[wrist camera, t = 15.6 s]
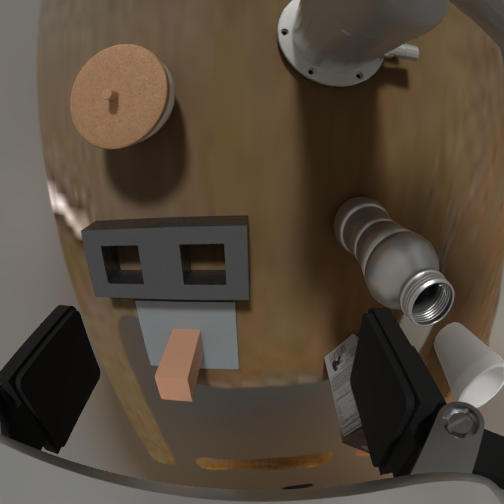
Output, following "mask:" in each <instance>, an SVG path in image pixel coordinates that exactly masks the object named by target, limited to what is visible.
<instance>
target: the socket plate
mask: <svg viewBox="0 0 504 504" xmlns="http://www.w3.org/2000/svg"><path fill="white" fill-rule="evenodd" d="M81 234H82V239H83V244H84V249H85V254H86V259H87V263H88V268H89V272H90V276H91V280H92V284H93V288H94V292H95V296H96V297H113V298H139V299H177V300H249V291H250V268H249V231H248V216H203V217H172V218H147V219H126V220H107V221H95V222H94V223H92V224H90V225H89V226H87V227H86V228H84V229H83V230H82V231H81ZM188 244H224V250H225V267H226V270H191V269H190V260H189V250H188ZM124 245H138V250H139V257H140V263H141V269H142V270H120V266H119V261H118V256H117V250H116V246H124Z"/></svg>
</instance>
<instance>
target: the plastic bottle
mask: <svg viewBox="0 0 504 504" xmlns="http://www.w3.org/2000/svg"><path fill="white" fill-rule="evenodd" d="M334 231H335V236H336V238H337V241H338V242H339V243H340V245H341V246H342V247H343V248H345V249H346V250H347V251H348V252H350V253H351V254H352V255H353V256H354V257H355V258H356V259H357V261H358V263H359V265H360V267H361V269H362V272H363V275H364V278H365V282H366V285H367V288H368V290H369V292H370V294H371V295H372V297H373V298H374V299H375V300H376V301H377V302H379V303H380V304H382V305H384V306H386V307H387V308H391V309H401V310H402V311H403V312H404V313H405V314H406V315H407V316H408V317H409V318H410V320H411V321H412V322H413V323H414V324H416V325H417V326H420V327H427V326H431V325H434V324H436V323H437V322H439V321H440V320H442V319H443V318H444V317H445V316H446V315H447V313H448V312H449V311H450V309H451V307H452V305H453V302H454V295H455V294H454V289H453V287H452V285H451V284H450V283H449V282H448V281H447V280H446V279H445V277H444V276H443V274H442V273H440V272H439V260H438V256H437V254H436V251H435V249H434V247H433V245H432V244H431V243H430V241H429V240H427V239H426V238H425V237H423V236H421V235H420V234H418V233H415V232H413V231H411V230H408V229H406V228H404V227H402V226H401V225H399V224H398V223H396V222H394V221H393V219H392V218H391V217H390V216H389V214H388V212H387V211H386V209H385V208H384V207H383V206H382V205H381V204H380V203H379V202H378V201H376V200H374V199H372V198H367V197H355V198H352V199H350V200H348V201H346V202H345V203H344V204H343V205H342V206H341V207H340V208H339V209H338V211H337V213H336V215H335V219H334Z"/></svg>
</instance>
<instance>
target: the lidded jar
mask: <svg viewBox="0 0 504 504" xmlns="http://www.w3.org/2000/svg"><path fill="white" fill-rule="evenodd" d="M174 102H175V85H174V81H173V78H172V75H171V73H170V72H169V70H168V68H167V67H166V66H165V64H164V63H163V62H162V61H161V60H159V58H158V57H157V56H156V55H154V54H153V53H152V52H151V51H149V50H147V49H145V48H144V47H141V46H138V45H132V44H120V45H115V46H112V47H109V48H106V49H104V50H102V51H101V52H99V53H97V54H96V55H95V56H93V57H92V58H91V59H90V60H89V61H88V62H87V63H86V64H85V65H84V67H83V68H82V69H81V71H80V72H79V74H78V76H77V78H76V80H75V82H74V85H73V88H72V92H71V98H70V110H71V116H72V120H73V123H74V125H75V127H76V129H77V131H78V132H79V134H80V135H81V136H82V137H83V138H84V139H85V140H86V141H88V142H89V143H90V144H92V145H94V146H96V147H99V148H103V149H111V150H112V149H121V148H125V147H129V146H131V145H134V144H137V143H139V142H142V141H144V140H146V139H148V138H149V137H151V136H153V135H154V134H155V133H156V132H157V131H159V130H160V128H161V127H162V126H163V125H164V124H165V123H166V121H167V120H168V118H169V116H170V114H171V112H172V110H173V107H174Z"/></svg>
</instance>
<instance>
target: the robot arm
mask: <svg viewBox="0 0 504 504" xmlns="http://www.w3.org/2000/svg"><path fill="white" fill-rule="evenodd" d="M449 2H451V3H452V4H454V5H455V6H456V7H457V8H458V9H459V10H460V11H462V12H463V13H464V14H465V15H467V16H469V17H470V18H471V19H472V20H473V21H474V22H475V23H476V24H477V25H479V26H480V27H481V28H482V29H483V30H484V31H485V32H486V33H487V34H488V35H489V36H490V38H491V39H492V40H493V41H494V42H495V43H496V44H497V45H498V46H499V47H500V48H501V49H502V50H503V51H504V0H292V1H291V2H290V3H289V4H288V5H287V6H286V7H285V9H284V10H283V11H282V13H281V16H280V18H279V21H278V26H277V38H278V43H279V46H280V49H281V51H282V53H283V55H284V57H285V58H286V60H287V61H288V63H289V64H290V65H291V66H292V67H293V68H294V69H295V70H296V71H297V72H299V73H300V74H301V75H303V76H304V77H306V78H308V79H310V80H312V81H313V82H316V83H319V84H322V85H326V86H332V87H347V86H352V85H356V84H358V83H361V82H363V81H365V80H367V79H369V78H370V77H371V76H372V75H373V74H375V73H376V72H377V70H378V69H379V68H380V66H381V64H382V62H383V60H384V58H392V57H393V56H397V57H401V58H402V59H407V60H412V61H417V59H418V57H419V50H418V47H417V46H413V45H409V44H406V43H408V42H410V41H412V40H414V39H416V38H418V37H420V36H422V35H424V34H426V33H428V32H429V31H431V30H432V29H434V28H435V27H436V26H437V25H438V24H439V23H440V22H441V20H442V19H443V17H444V15H445V13H446V11H447V9H448V6H449ZM283 32H285V33H286V35H283V34H282V33H283ZM308 71H312V74H309V73H308ZM356 75H359V78H357V77H356ZM99 378H100V369H99V366H98V364H97V361H96V358H95V356H94V353H93V350H92V348H91V345H90V342H89V339H88V336H87V334H86V330H85V327H84V324H83V321H82V318H81V315H80V313H79V312H78V311H76V309H75V307H73V306H64V305H59V306H57V307H56V308H55V309H54V310H53V312H52V313H51V314H50V315H49V316H48V317H47V318H46V319H45V320H44V321H43V322H42V323H41V325H40V326H39V327H38V328H37V329H36V330H35V331H34V332H33V334H32V335H31V336H30V337H29V338H28V339H27V340H26V342H25V343H24V344H23V345H22V346H21V347H20V348H19V350H18V351H17V352H16V353H15V354H14V355H13V357H12V358H11V359H10V360H9V362H8V363H7V364H6V365H5V366H4V368H3V369H2V370H1V371H0V504H504V436H501V435H498V434H496V433H493V432H490V431H488V430H485V429H484V419H483V416H482V415H481V413H480V411H479V410H478V409H477V408H475V407H474V406H473V405H471V404H468V403H466V402H460V401H457V402H451V403H448V404H447V403H446V402H445V400H444V398H443V396H442V394H441V392H440V390H439V389H438V387H437V385H436V383H435V381H434V380H433V378H432V376H431V374H430V373H429V371H428V369H427V367H426V366H425V364H424V362H423V360H422V359H421V357H420V355H419V354H418V352H417V350H416V349H415V348H414V346H411V344H410V343H409V341H408V339H407V338H406V336H405V334H404V333H403V331H402V329H401V328H400V326H399V324H398V323H397V321H396V320H395V318H394V316H393V315H392V313H391V311H390V310H389V309H388V308H386V307H385V308H371V309H369V311H368V313H365V314H364V315H363V318H362V323H361V328H360V333H359V338H358V343H357V348H356V353H355V357H354V362H353V366H352V371H351V375H350V385H351V389H352V392H353V396H354V399H355V402H356V406H357V409H358V413H359V416H360V420H361V423H362V427H363V431H364V434H365V438H366V442H367V445H368V449H369V453H370V457H371V460H372V464H373V466H374V467H379V471H380V475H382V474H388V473H393V476H394V477H393V478H387V479H381V480H374V481H368V482H362V483H355V484H347V485H339V486H331V487H318V488H306V489H289V490H231V489H215V488H202V487H192V486H183V485H176V484H168V483H162V482H155V481H150V480H144V479H139V478H134V477H129V476H124V475H120V474H116V473H111V472H108V471H104V470H100V469H96V468H92V467H89V466H85V465H82V464H79V463H75V462H72V461H69V460H66V459H63V458H60V457H57V456H54V455H51V454H48V453H46V452H43V451H41V449H42V447H44V448H45V449H46V450H48V451H51V452H54V453H56V454H58V453H59V451H60V449H61V447H64V446H65V444H66V442H67V440H68V438H69V436H70V434H71V432H72V430H73V428H74V426H75V424H76V422H77V420H78V418H79V416H80V414H81V412H82V410H83V408H84V406H85V405H86V402H87V401H88V399H89V397H90V395H91V393H92V391H93V389H94V387H95V386H96V384H97V382H98V380H99Z"/></svg>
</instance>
